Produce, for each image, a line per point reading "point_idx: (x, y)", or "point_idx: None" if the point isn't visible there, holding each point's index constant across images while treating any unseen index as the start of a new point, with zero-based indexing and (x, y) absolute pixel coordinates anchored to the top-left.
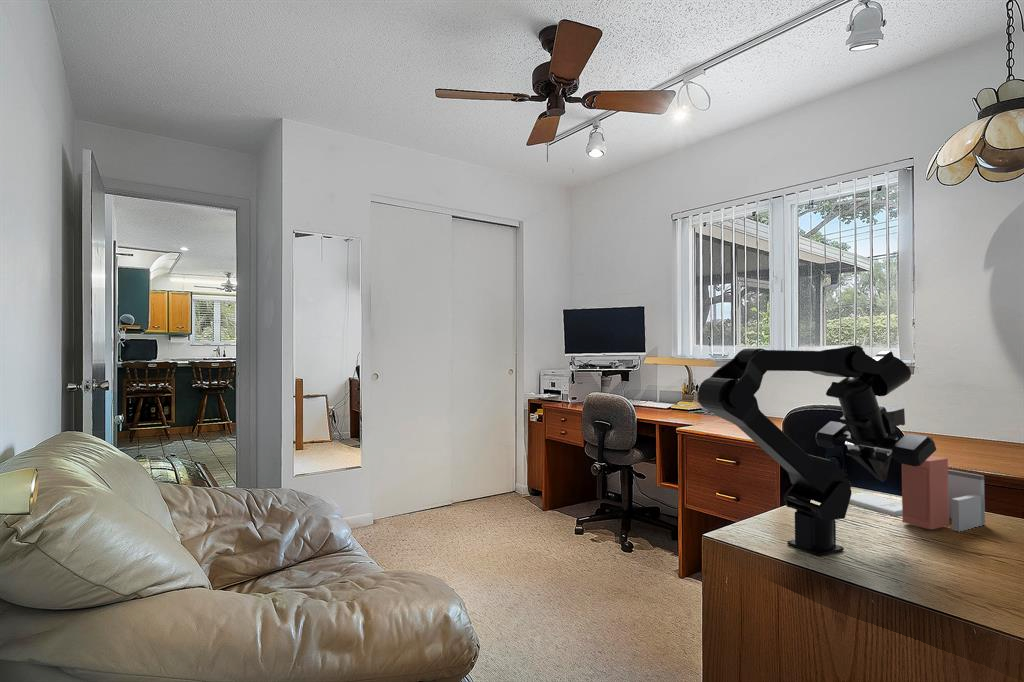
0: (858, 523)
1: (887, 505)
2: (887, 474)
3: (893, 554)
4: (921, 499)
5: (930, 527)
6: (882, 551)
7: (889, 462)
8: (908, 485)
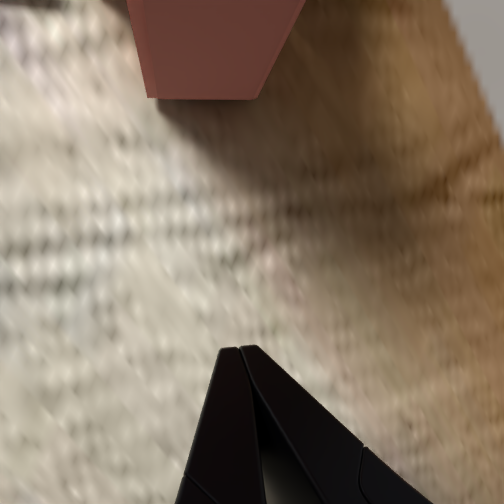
0: (59, 258)
1: None
2: (279, 367)
3: None
4: (252, 54)
5: (257, 95)
6: None
7: (384, 468)
8: (184, 15)
